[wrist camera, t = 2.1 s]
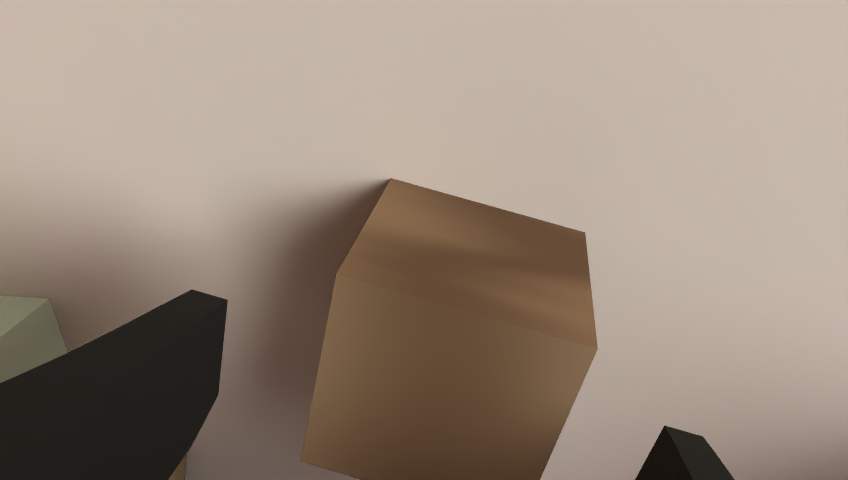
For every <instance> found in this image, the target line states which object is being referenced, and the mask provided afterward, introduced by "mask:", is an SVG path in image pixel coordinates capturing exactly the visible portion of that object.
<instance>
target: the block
mask: <svg viewBox="0 0 848 480" xmlns="http://www.w3.org/2000/svg"><path fill="white" fill-rule="evenodd" d="M66 353H68V352H67V349H66V346H65V343H64V340H63V337H62V334H61V331H60V328H59V325H58V322H57V319H56V316H55V313H54V310H53V307H52V304H51V301H50V298H37V297H22V296H6V295H0V383H1V382H4V381H6V380H9V379H11V378H13V377H15V376H18V375H20V374H22V373H24V372H26V371H29V370H31V369H33V368H35V367H37V366H40V365H42V364H44V363H46V362H49V361H51V360H53V359H55V358H57V357H60V356H62V355H64V354H66Z"/></svg>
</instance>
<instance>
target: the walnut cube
mask: <svg viewBox="0 0 848 480" xmlns="http://www.w3.org/2000/svg"><path fill="white" fill-rule="evenodd" d="M597 349H598V348H597V339H596V330H595V320H594V311H593V302H592V292H591V283H590V274H589V265H588V255H587V246H586V237H585V232H581V231H578V230H574V229H570V228H567V227H563V226H560V225H556V224H553V223H549V222H545V221H542V220H538V219H535V218H531V217H528V216H524V215H520V214H517V213H513V212H510V211H506V210H503V209H499V208H495V207H492V206H488V205H485V204H481V203H478V202H474V201H470V200H467V199H463V198H460V197H456V196H453V195H449V194H445V193H442V192H438V191H435V190H431V189H428V188H424V187H420V186H417V185H413V184H410V183H406V182H403V181H399V180H395V179H392V178H391V180H390V181H389V183H388V185H387V187H386V188H385V190H384V192H383V194H382V195H381V197H380V199H379V200H378V202H377V204H376V206H375V207H374V209H373V211H372V213H371V214H370V216H369V218H368V220H367V221H366V223H365V225H364V227H363V228H362V230H361V232H360V233H359V235H358V237H357V239H356V240H355V242H354V244H353V246H352V247H351V249H350V251H349V253H348V254H347V256H346V258H345V260H344V261H343V263H342V265H341V266H340V268H339V270H338V272H337V273H336V278H335V283H334V288H333V293H332V299H331V304H330V309H329V314H328V320H327V325H326V330H325V335H324V341H323V346H322V351H321V356H320V362H319V367H318V372H317V377H316V383H315V388H314V393H313V398H312V403H311V409H310V414H309V419H308V424H307V430H306V435H305V440H304V445H303V451H302V456H301V461H302V462H305V463H308V464H312V465H315V466H318V467H321V468H325V469H328V470H331V471H335V472H338V473H341V474H345V475H348V476H351V477H355V478H358V479H361V480H540V478H541V476H542V474H543V471H544V469H545V467H546V465H547V462H548V460H549V458H550V455H551V453H552V451H553V449H554V446H555V444H556V442H557V440H558V437H559V435H560V433H561V431H562V428H563V426H564V424H565V422H566V419H567V417H568V415H569V412H570V410H571V408H572V406H573V403H574V401H575V399H576V397H577V394H578V392H579V390H580V388H581V385H582V383H583V381H584V379H585V376H586V374H587V372H588V369H589V367H590V365H591V363H592V360H593V358H594V356H595V354H596V351H597Z"/></svg>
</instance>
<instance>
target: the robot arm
mask: <svg viewBox="0 0 848 480" xmlns="http://www.w3.org/2000/svg"><path fill="white" fill-rule="evenodd" d="M227 301H228V300H226V299H223V298H219V297H216V296H212V295H209V294H205V293H202V292H198V291H195V290H190V291H188V292H186V293H184V294H182V295H180V296H178V297H176V298H174V299H172V300H171V301H169V302H167V303H165V304H163V305H161V306H159V307H157V308H155V309H153V310H151V311H149V312H148V313H146V314H144V315H142V316H140V317H138V318H136V319H134V320H132V321H130V322H128V323H127V324H125V325H123V326H121V327H119V328H117V329H115V330H113V331H111V332H109V333H107V334H105V335H103V336H101V337H99V338H97V339H95V340H93V341H91V342H89V343H87V344H85V345H83V346H81V347H79V348H77V349H75V350H73V351H71V352H68V353H66V354H64V355H62V356H60V357H57V358H55V359H53V360H51V361H49V362H46V363H44V364H42V365H40V366H37V367H35V368H33V369H31V370H29V371H26V372H24V373H22V374H20V375H18V376H15V377H13V378H11V379H9V380H6V381H4V382H1V383H0V480H168V479H169V478H170V476H171V475H172V474H173V472H174V471H175V469H176V468H177V466H178V465H179V463H180V462H181V461H182V459H183V458H184V456H185V455H186V453H187V452H188V450H189V449H190V447H191V445H192V443H193V442H194V440H195V438H196V436H197V434H198V432H199V431H200V429H201V427H202V425H203V423H204V421H205V419H206V417H207V415H208V414H209V412H210V410H211V408H212V406H213V404H214V402H215V400H216V398H217V396H218V391H219V381H220V371H221V361H222V351H223V341H224V331H225V321H226V311H227ZM635 480H734V478H733V477H732V476H731V474H730V473H729V471H728V470H727V469H726V467H725V466H724V464H723V463H722V462H721V460H720V459H719V457H718V456H717V455H716V453H715V452H714V451H713V449H712V448H711V447H710V445H709V444H708V443H707V441H706V440H705V439H704V438H703V437H702V436H699V435H695V434H692V433H689V432H685V431H682V430H678V429H675V428H671V427H668V426H664V428H663V429H662V431H661V433H660V435H659V437H658V439H657V440H656V442H655V444H654V446H653V448H652V450H651V452H650V453H649V455H648V457H647V459H646V461H645V463H644V464H643V466H642V468H641V470H640V472H639V474H638V476H637V477H636V479H635Z"/></svg>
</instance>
